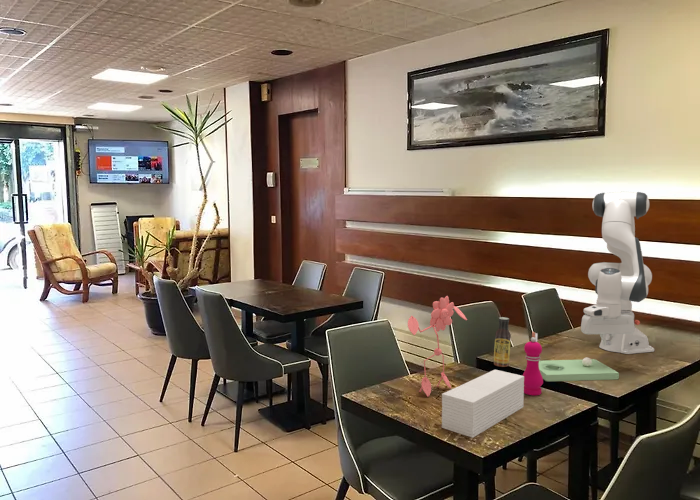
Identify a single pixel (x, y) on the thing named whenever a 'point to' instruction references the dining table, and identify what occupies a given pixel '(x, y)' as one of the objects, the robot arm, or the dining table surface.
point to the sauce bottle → (502, 344)
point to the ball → (586, 361)
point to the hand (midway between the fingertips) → (607, 345)
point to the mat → (574, 370)
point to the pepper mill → (532, 368)
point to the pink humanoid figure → (438, 320)
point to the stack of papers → (482, 402)
